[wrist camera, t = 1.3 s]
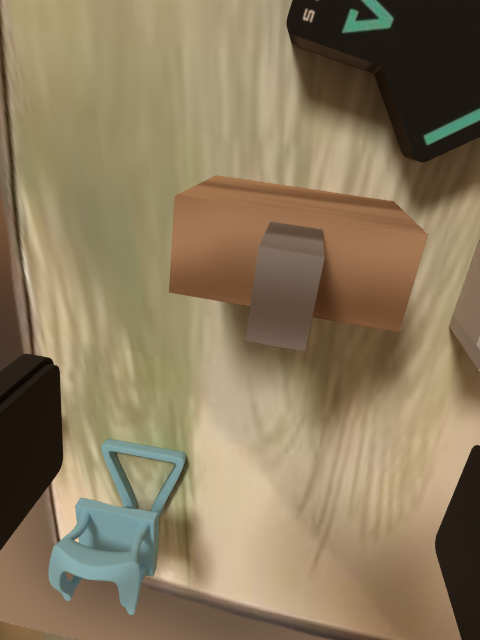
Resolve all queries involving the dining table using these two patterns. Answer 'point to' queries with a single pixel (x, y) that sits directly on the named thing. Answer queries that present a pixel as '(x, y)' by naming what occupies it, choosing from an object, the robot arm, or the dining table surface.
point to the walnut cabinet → (294, 256)
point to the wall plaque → (405, 62)
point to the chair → (115, 532)
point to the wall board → (469, 312)
